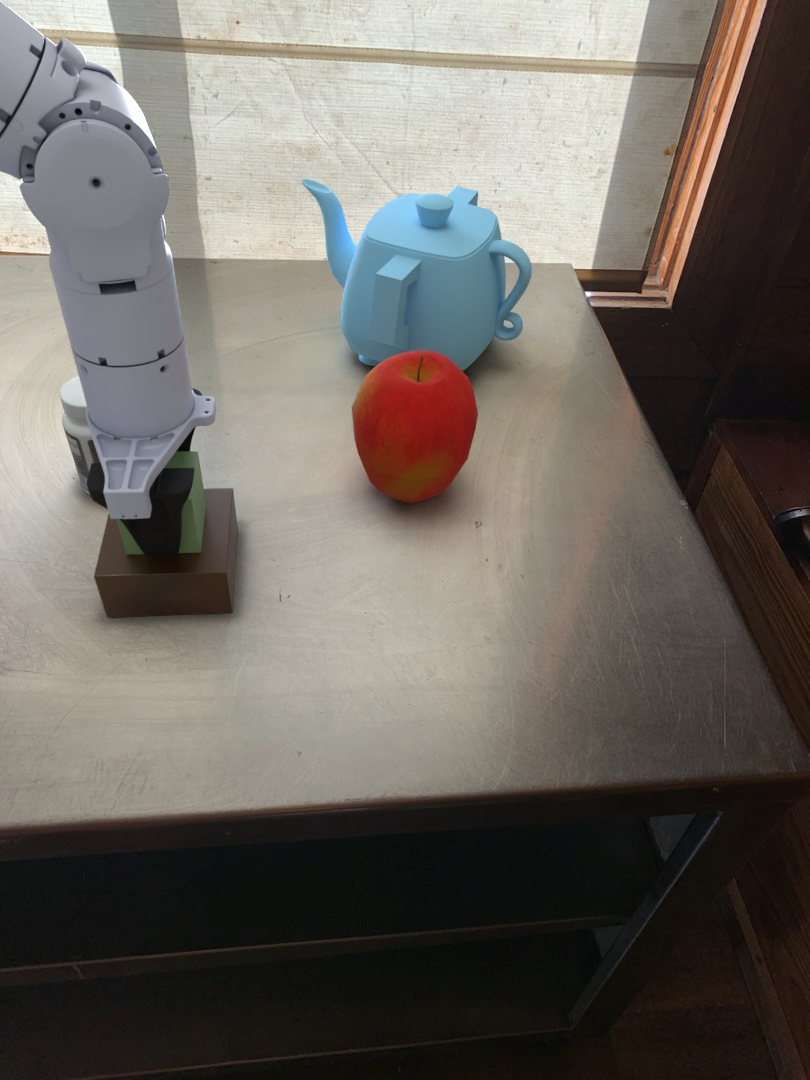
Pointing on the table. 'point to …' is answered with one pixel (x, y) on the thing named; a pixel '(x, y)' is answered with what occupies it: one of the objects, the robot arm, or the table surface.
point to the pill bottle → (78, 429)
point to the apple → (414, 424)
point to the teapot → (423, 276)
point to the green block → (190, 512)
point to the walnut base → (173, 569)
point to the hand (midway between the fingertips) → (166, 523)
